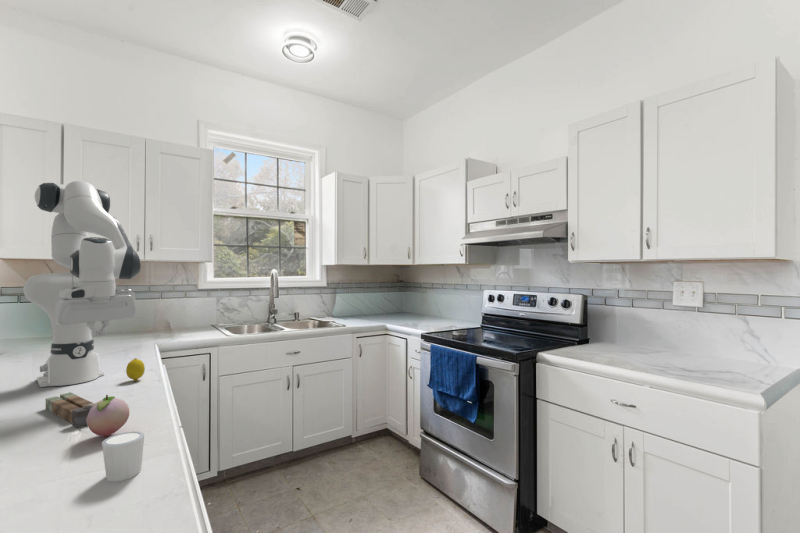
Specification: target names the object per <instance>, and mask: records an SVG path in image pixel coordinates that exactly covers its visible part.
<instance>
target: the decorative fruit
mask: <svg viewBox="0 0 800 533" xmlns="http://www.w3.org/2000/svg"><path fill="white" fill-rule="evenodd" d="M129 418H130V407H129V405H128V403H127V402H126V401H125V400H123V399H121V398H118V397H115V396H109V395H108V394H106V395H105V397H104V398H102V399H101V400H98V401H96V402H94V405H93V406H92V407H91V409H90V411H89V413H88V416H87V419H86V422H87V425H86V426H87V427H88V429H89V430H90V432H91V433H93V434H94V435H97V436H99V437H103V438H109V437H110V436H112V435H113V434H114V433H116V432H117V431H119V430H120V429H121V428H122V427H123V426H124V425H126V423H127V421H128V420H129Z"/></svg>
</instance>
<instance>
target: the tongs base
mask: <svg viewBox="0 0 800 533" xmlns="http://www.w3.org/2000/svg"><path fill="white" fill-rule="evenodd" d="M94 404H95V403H94ZM94 404H87V405H85V407H82V408H80V407H78V406H76V405H73V404H71V403H69V402H67V401H65V400H63V399H62V398H60V396H58V395H54V396H51V397H46V398H45V410H46V411H48V412H50V413H53V414H54V415H56V416H58V417H60V418H61V419H64V420H65V421H67V422H69V423H71V424H72V426H73V427H74V428H76V429H78V428H83V427H87V426H88V425H87V422H86V419H87V416H88V413H89V411H90V409H91V407H92V406H93V405H94Z"/></svg>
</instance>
